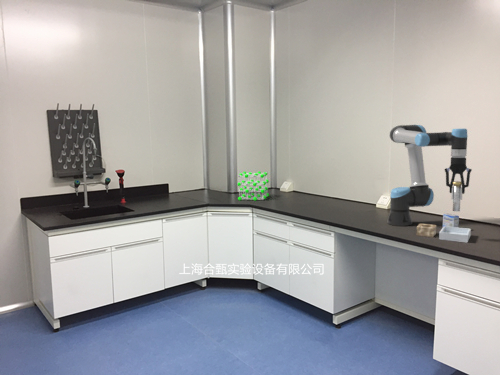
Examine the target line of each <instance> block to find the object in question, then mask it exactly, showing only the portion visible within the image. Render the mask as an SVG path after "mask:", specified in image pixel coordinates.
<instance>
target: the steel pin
mask: <svg viewBox="0 0 500 375" xmlns="http://www.w3.org/2000/svg"><path fill="white" fill-rule="evenodd" d="M452 184H453V187H454V190H453V199H452V211H453V212H461V200H460V188H462V182H461V180H460V181H459V180H456V181H455V180H454V182H452Z"/></svg>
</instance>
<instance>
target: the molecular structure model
mask: <svg viewBox="0 0 500 375" xmlns="http://www.w3.org/2000/svg"><path fill="white" fill-rule="evenodd" d="M237 177H238V178H244V179H242V180H238V182H237V186H238V188H239V189H238V193H239V195H240V196H239V197H237V200H238V201H242V200H243V199H246V200H253V201H257V200H258V199H261V200H262V201H264V200H266V199H267V197H270V193H269V192H268V190H269V187H268V186H267V184H268V183H270V180H269V179H268V172H267V171H266V172H261V171H257V172H252V171H251V172H247V171H243V172H240V173H239V174H238V175H237ZM252 178H253V179H252ZM260 178H261V179H260ZM255 194H256V195H255Z"/></svg>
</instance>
